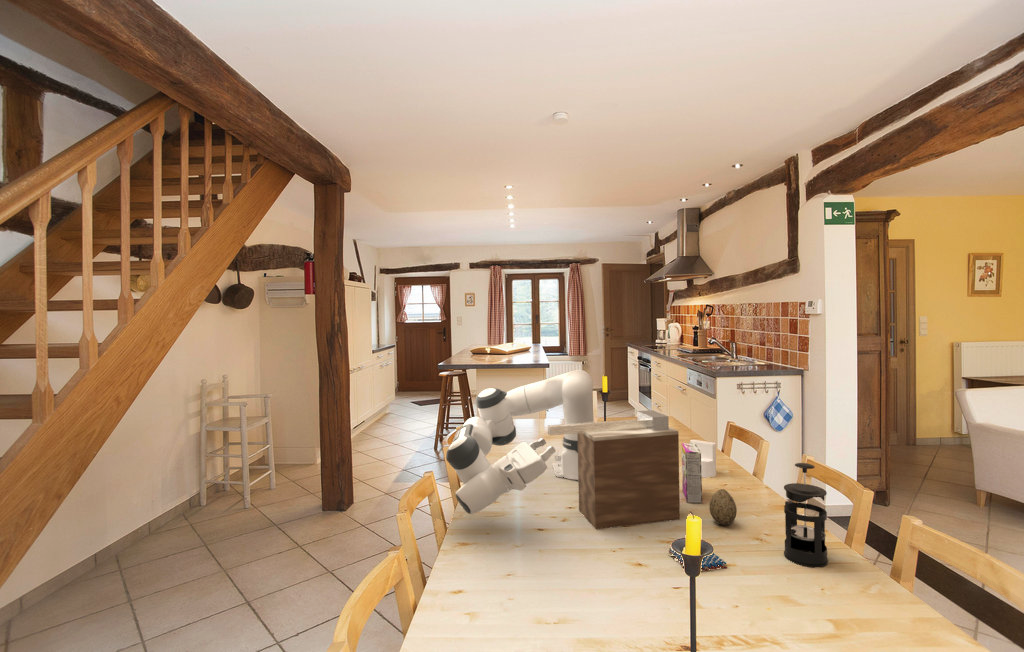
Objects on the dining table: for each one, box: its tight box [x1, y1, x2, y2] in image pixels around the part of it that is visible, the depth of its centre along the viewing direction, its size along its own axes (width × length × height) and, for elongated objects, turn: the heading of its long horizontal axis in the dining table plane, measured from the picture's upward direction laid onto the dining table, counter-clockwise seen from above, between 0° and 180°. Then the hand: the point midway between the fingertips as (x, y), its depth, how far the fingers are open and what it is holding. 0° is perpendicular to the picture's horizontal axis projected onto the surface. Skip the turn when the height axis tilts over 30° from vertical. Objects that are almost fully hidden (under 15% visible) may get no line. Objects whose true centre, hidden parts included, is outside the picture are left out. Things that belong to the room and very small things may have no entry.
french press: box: [783, 462, 829, 569], centre depth 123 cm, size 12×9×23 cm
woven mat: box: [668, 548, 728, 572], centre depth 123 cm, size 10×11×2 cm
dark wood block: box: [577, 426, 681, 530], centre depth 151 cm, size 14×26×26 cm, turn 102°
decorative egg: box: [709, 488, 738, 526], centre depth 143 cm, size 7×7×10 cm
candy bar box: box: [680, 442, 703, 504], centre depth 164 cm, size 11×5×16 cm, turn 168°
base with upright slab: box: [689, 439, 717, 479], centre depth 187 cm, size 9×9×12 cm
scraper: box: [547, 409, 670, 436], centre depth 149 cm, size 10×35×4 cm, turn 102°
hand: (549, 444), depth 145 cm, fingers open, 8 cm apart
